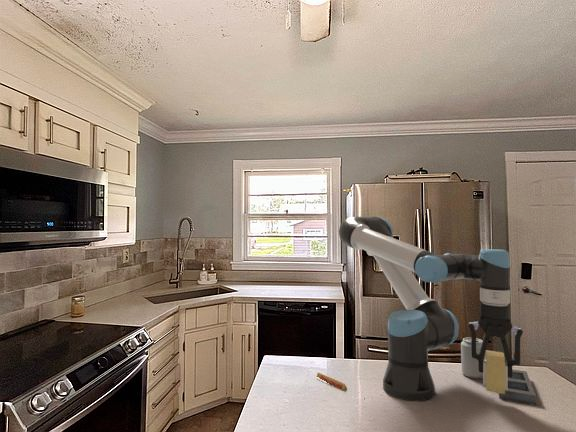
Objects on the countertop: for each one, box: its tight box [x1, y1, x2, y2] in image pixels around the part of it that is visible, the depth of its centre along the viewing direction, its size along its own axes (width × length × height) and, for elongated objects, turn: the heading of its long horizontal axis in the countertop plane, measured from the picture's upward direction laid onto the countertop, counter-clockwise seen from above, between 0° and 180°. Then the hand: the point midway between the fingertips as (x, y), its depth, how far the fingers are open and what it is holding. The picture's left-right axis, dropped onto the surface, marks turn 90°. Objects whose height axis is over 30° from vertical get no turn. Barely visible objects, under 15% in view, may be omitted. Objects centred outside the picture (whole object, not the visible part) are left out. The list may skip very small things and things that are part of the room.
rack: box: [498, 369, 537, 406], centre depth 112 cm, size 9×20×2 cm, turn 153°
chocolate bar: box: [316, 372, 348, 391], centre depth 116 cm, size 3×12×2 cm, turn 39°
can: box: [460, 337, 486, 380], centre depth 123 cm, size 8×8×12 cm
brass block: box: [485, 349, 506, 394], centre depth 103 cm, size 4×4×10 cm
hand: (495, 385), depth 103 cm, fingers closed on brass block, 4 cm apart
